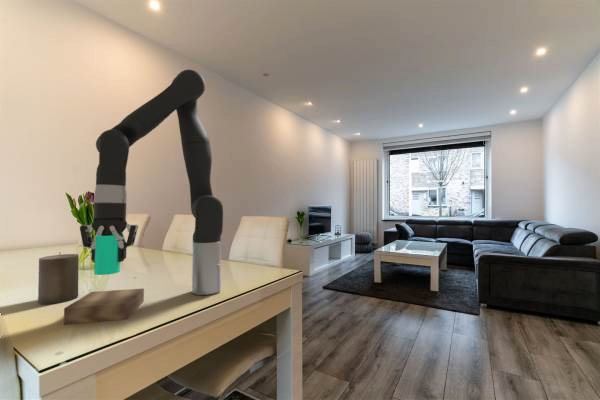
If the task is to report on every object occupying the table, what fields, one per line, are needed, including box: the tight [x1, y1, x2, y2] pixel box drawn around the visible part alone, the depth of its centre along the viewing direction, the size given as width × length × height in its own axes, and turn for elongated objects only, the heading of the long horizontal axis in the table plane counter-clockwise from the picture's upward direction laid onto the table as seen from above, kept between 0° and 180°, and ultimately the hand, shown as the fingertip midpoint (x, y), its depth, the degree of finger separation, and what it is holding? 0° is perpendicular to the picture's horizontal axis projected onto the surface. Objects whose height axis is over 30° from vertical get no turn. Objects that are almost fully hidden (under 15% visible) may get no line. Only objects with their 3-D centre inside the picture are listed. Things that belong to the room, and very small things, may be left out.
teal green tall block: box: [93, 235, 121, 276], centre depth 77 cm, size 6×6×12 cm
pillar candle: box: [37, 252, 80, 305], centre depth 88 cm, size 10×10×15 cm
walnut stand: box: [63, 288, 145, 325], centre depth 77 cm, size 14×14×4 cm
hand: (108, 261), depth 77 cm, fingers closed on teal green tall block, 5 cm apart
